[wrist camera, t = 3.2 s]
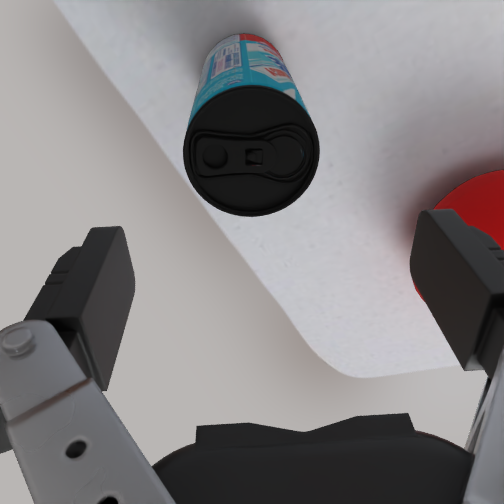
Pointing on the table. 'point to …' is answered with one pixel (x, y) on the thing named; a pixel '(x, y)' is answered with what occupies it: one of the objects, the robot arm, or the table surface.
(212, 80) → the beverage can
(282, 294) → the table surface
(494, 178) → the tomato
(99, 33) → the table surface
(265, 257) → the table surface
